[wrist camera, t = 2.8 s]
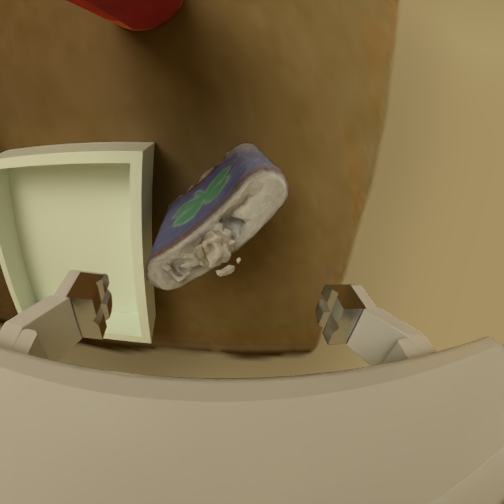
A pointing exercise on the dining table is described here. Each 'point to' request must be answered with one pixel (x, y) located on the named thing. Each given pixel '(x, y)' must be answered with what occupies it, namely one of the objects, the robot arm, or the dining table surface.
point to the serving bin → (80, 225)
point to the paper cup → (133, 11)
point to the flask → (216, 218)
